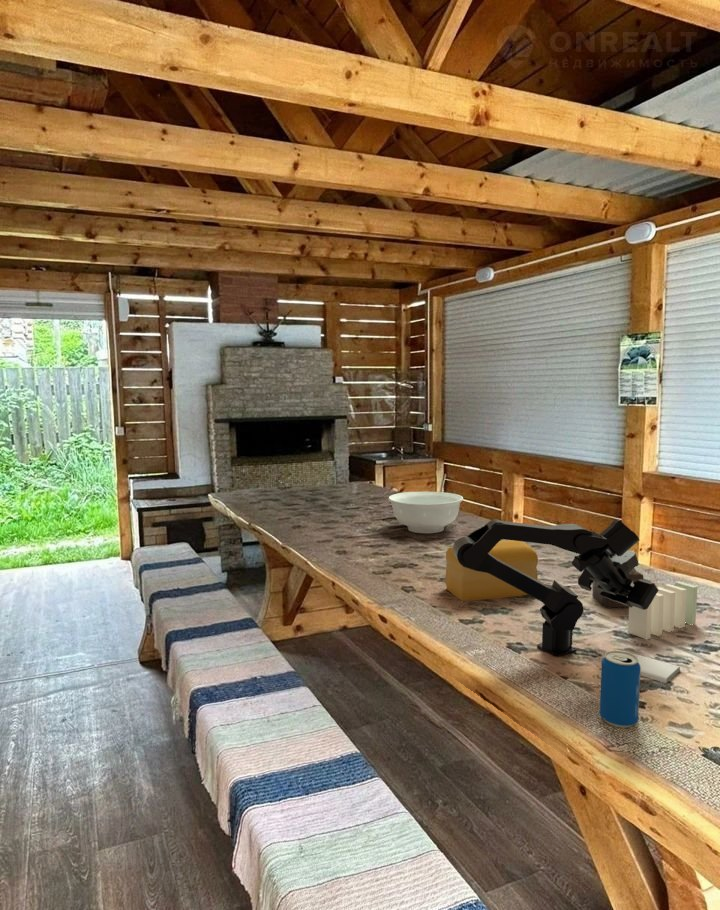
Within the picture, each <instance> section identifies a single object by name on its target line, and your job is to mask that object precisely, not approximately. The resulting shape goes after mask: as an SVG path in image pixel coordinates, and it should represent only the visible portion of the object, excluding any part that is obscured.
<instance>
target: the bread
mask: <svg viewBox="0 0 720 910" xmlns="http://www.w3.org/2000/svg"><path fill="white" fill-rule="evenodd" d="M453 546H454V544H453V545H451V546H450V547H448V548H447V550H446V553H445V560H446V566H445V586H446V590H447V591H449V592H450V593H451V594H452V595H453V596H455V597H456V598H457V599H459V601H462V602H468V601H470V602H471V601H479V600H489V599H498V598H499V599H500V598H502V599H503V598H509V597H520V596H529V595H528V594H526V593H524V592H523V591H521V590H519V589H517V588H515V587H513V586H511V585H509V584H508V583H506V582H504V581H502V580H500V579H498V578H496V577H495V576H493V575H491V574H488V573H484V572H478V571H475V570H472V569H469V568H466V567H463V566H462V565H461V564H460V563H459V561H458V560H457V558H456V557H455V555H454V552H453ZM489 553H490V554H491V555H493V556H494V557H496V558H498V559H499V560H501V561H503V562H505V563H507V564H509V565H511V566H512V567H514V568H516V569H518V570H520V571H522V572H524V573H525V574H527V575H529V576H531V577H533V578H535V579H537V580H538V568H537V566H538V563H539V556H538V554H537V552H536V551H535V549H534V548H532V546H530V545H529V544H528V543H527V542H523V541H514V540H505V539H504V540H501V541H499V542H498V543H497V544H496V545H495V546H494V548H493V549H492V550H491V551H490V552H489Z"/></svg>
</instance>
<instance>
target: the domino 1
mask: <svg viewBox="0 0 720 910" xmlns="http://www.w3.org/2000/svg"><path fill="white" fill-rule="evenodd" d="M651 611H652V602H651V604H650V605H649V607H648V609H645V610H643V609H640V608H637V607H634V606H633V607H632V608H631V607H629V608H628V624H627V625H628V627H627V629H628V632H627V633H629V634H631V635H634V636H636V637H639V638H641V639H644V640H648V639H651V634H652V633H651Z"/></svg>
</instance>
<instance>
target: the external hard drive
mask: <svg viewBox="0 0 720 910" xmlns="http://www.w3.org/2000/svg"><path fill="white" fill-rule="evenodd" d="M620 651H622V652H627V653H630V654H632V655H634V656H636V657H637V658H638V663H639V664H640V677H643V678H644V677H645V678H648V679H650V680H651V679H652V680H653V681H657V682H661V683H664V684H667V683H668V682H670V681H671V680H672V679H673V678H674V677H675V676H676V675H677V674H678V673H679V672H680V671H681V666H678V665H676V664H675V665H674V664H671V663H667V662H664V661H661V660H657V659H654V658H650V657H646V656H643V655H640V654H636V653H631V652H628V651H625V650H620Z"/></svg>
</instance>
